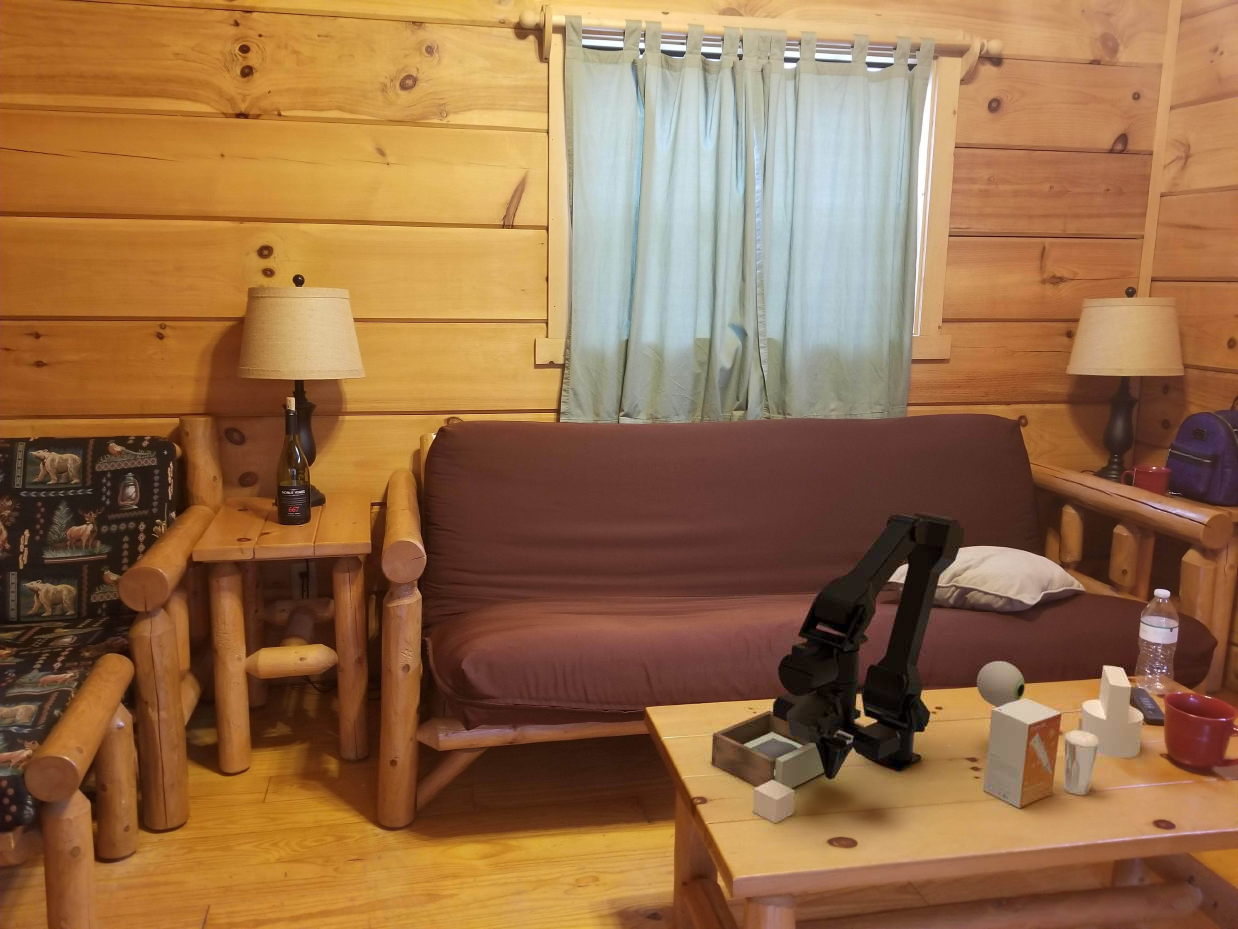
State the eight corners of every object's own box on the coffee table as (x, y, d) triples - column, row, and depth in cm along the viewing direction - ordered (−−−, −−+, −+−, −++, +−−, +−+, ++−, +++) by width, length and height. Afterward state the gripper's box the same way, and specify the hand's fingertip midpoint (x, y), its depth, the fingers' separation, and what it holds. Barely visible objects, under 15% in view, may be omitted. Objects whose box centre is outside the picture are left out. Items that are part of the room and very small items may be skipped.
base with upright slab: (1143, 762, 157) (1152, 690, 155) (1081, 752, 160) (1089, 682, 158) (1134, 738, 166) (1142, 670, 163) (1075, 729, 168) (1083, 662, 166)
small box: (1019, 810, 142) (1028, 724, 139) (982, 790, 147) (990, 708, 145) (1053, 795, 146) (1063, 712, 144) (1015, 777, 151) (1024, 696, 149)
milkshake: (1090, 783, 150) (1097, 721, 148) (1094, 800, 145) (1102, 736, 143) (1057, 778, 151) (1064, 716, 150) (1060, 794, 146) (1067, 731, 145)
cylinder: (774, 748, 156) (775, 737, 156) (807, 763, 151) (808, 751, 151) (748, 761, 152) (749, 749, 151) (781, 777, 147) (782, 764, 147)
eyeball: (1003, 766, 155) (1012, 674, 152) (962, 749, 160) (970, 661, 157) (1025, 752, 159) (1035, 664, 157) (984, 737, 165) (992, 651, 162)
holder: (711, 764, 153) (712, 733, 152) (767, 739, 162) (769, 710, 161) (769, 793, 145) (771, 761, 144) (825, 765, 153) (827, 735, 152)
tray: (723, 765, 152) (724, 734, 151) (773, 742, 160) (775, 713, 159) (780, 794, 144) (782, 761, 143) (830, 768, 152) (832, 738, 151)
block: (771, 802, 142) (772, 779, 141) (793, 813, 139) (794, 790, 138) (752, 811, 139) (754, 788, 139) (775, 823, 136) (776, 800, 136)
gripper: (750, 669, 143) (745, 770, 146) (857, 713, 129) (849, 823, 132) (799, 652, 150) (794, 748, 153) (906, 692, 137) (897, 797, 139)
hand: (830, 778), depth 144 cm, fingers closed
